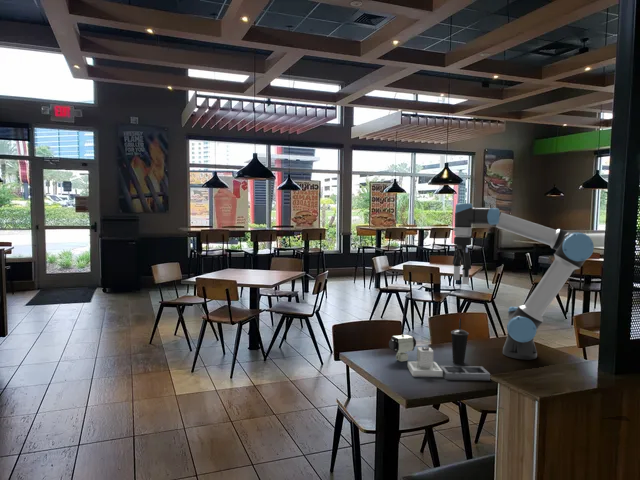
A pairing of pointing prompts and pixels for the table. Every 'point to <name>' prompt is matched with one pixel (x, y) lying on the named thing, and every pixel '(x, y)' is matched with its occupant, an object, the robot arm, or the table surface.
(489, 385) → the table surface
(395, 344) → the pneumatic valve
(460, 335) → the drinking cup
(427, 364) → the white block
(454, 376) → the gray divided tray
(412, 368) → the tray
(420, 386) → the table surface
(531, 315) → the robot arm
